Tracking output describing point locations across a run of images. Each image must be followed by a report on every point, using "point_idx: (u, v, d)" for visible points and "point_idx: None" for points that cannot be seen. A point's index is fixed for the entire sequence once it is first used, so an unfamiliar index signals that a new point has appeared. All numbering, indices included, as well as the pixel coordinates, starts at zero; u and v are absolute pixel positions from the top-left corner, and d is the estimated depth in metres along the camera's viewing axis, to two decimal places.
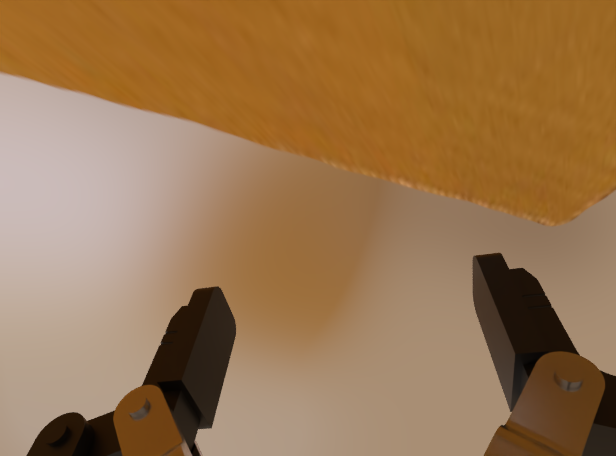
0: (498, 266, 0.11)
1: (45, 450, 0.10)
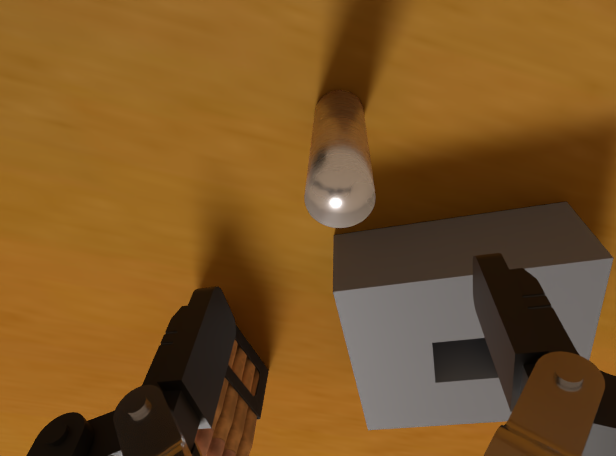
0: (498, 266, 0.11)
1: (45, 450, 0.10)
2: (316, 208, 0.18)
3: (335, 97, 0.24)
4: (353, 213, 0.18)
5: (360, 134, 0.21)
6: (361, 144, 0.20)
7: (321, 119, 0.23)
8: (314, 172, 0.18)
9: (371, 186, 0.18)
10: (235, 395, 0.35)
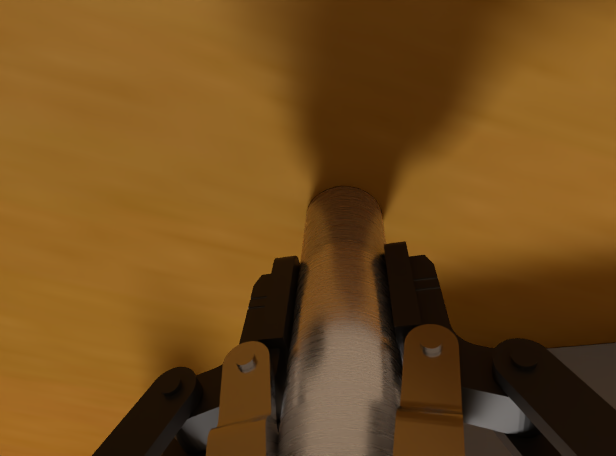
0: (400, 253, 0.13)
1: (158, 396, 0.10)
2: None
3: (338, 205, 0.15)
4: None
5: (382, 304, 0.12)
6: (386, 339, 0.11)
7: (313, 257, 0.13)
8: (292, 442, 0.09)
9: None
10: None
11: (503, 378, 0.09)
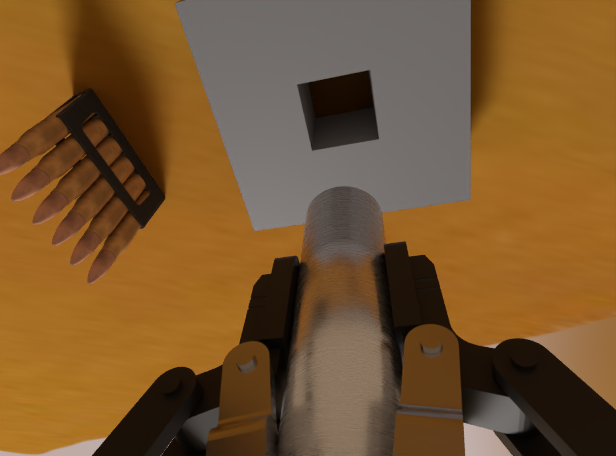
0: (400, 253, 0.13)
1: (158, 396, 0.10)
2: None
3: (338, 205, 0.15)
4: None
5: (382, 304, 0.12)
6: (386, 339, 0.11)
7: (313, 257, 0.13)
8: (292, 442, 0.09)
9: None
10: (108, 187, 0.32)
11: (503, 378, 0.09)
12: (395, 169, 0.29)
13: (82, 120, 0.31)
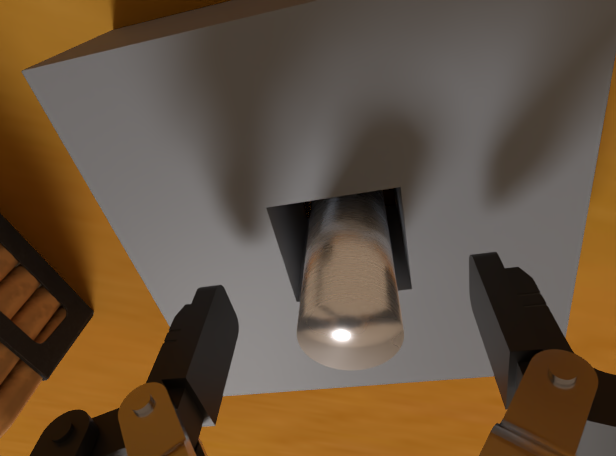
0: (494, 265, 0.12)
1: (50, 447, 0.10)
2: (314, 346, 0.12)
3: None
4: (369, 354, 0.12)
5: (378, 219, 0.15)
6: (380, 240, 0.14)
7: None
8: (311, 298, 0.12)
9: (398, 323, 0.12)
10: None
11: None
12: (438, 330, 0.17)
13: None
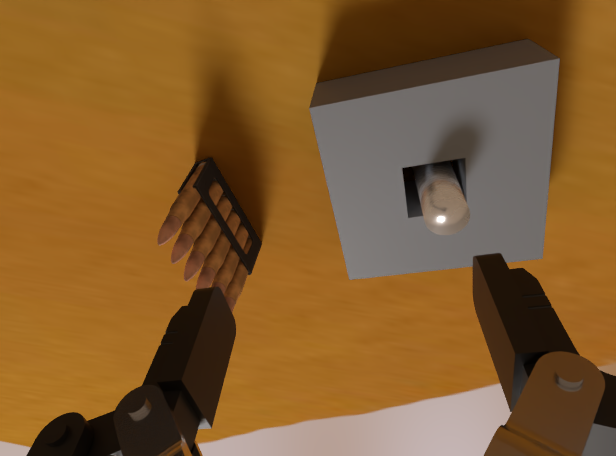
0: (498, 266, 0.11)
1: (45, 450, 0.10)
2: (431, 222, 0.29)
3: None
4: (454, 226, 0.29)
5: (453, 174, 0.32)
6: (456, 181, 0.31)
7: None
8: (431, 200, 0.29)
9: (468, 209, 0.29)
10: (227, 242, 0.38)
11: None
12: (479, 233, 0.34)
13: (208, 187, 0.37)
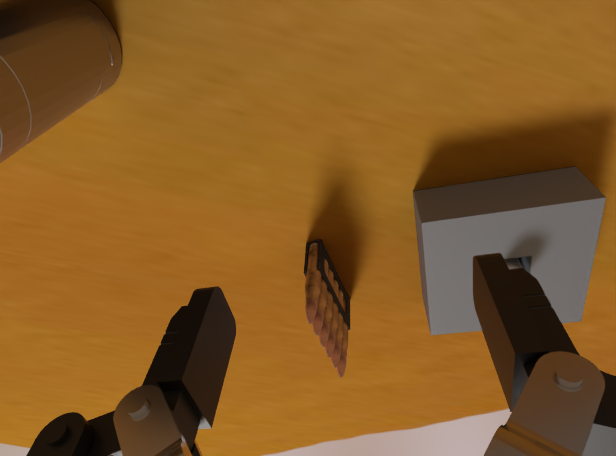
0: (498, 266, 0.11)
1: (45, 450, 0.10)
2: None
3: None
4: None
5: (520, 265, 0.43)
6: None
7: None
8: None
9: None
10: (337, 308, 0.49)
11: None
12: None
13: (323, 266, 0.48)
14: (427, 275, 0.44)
